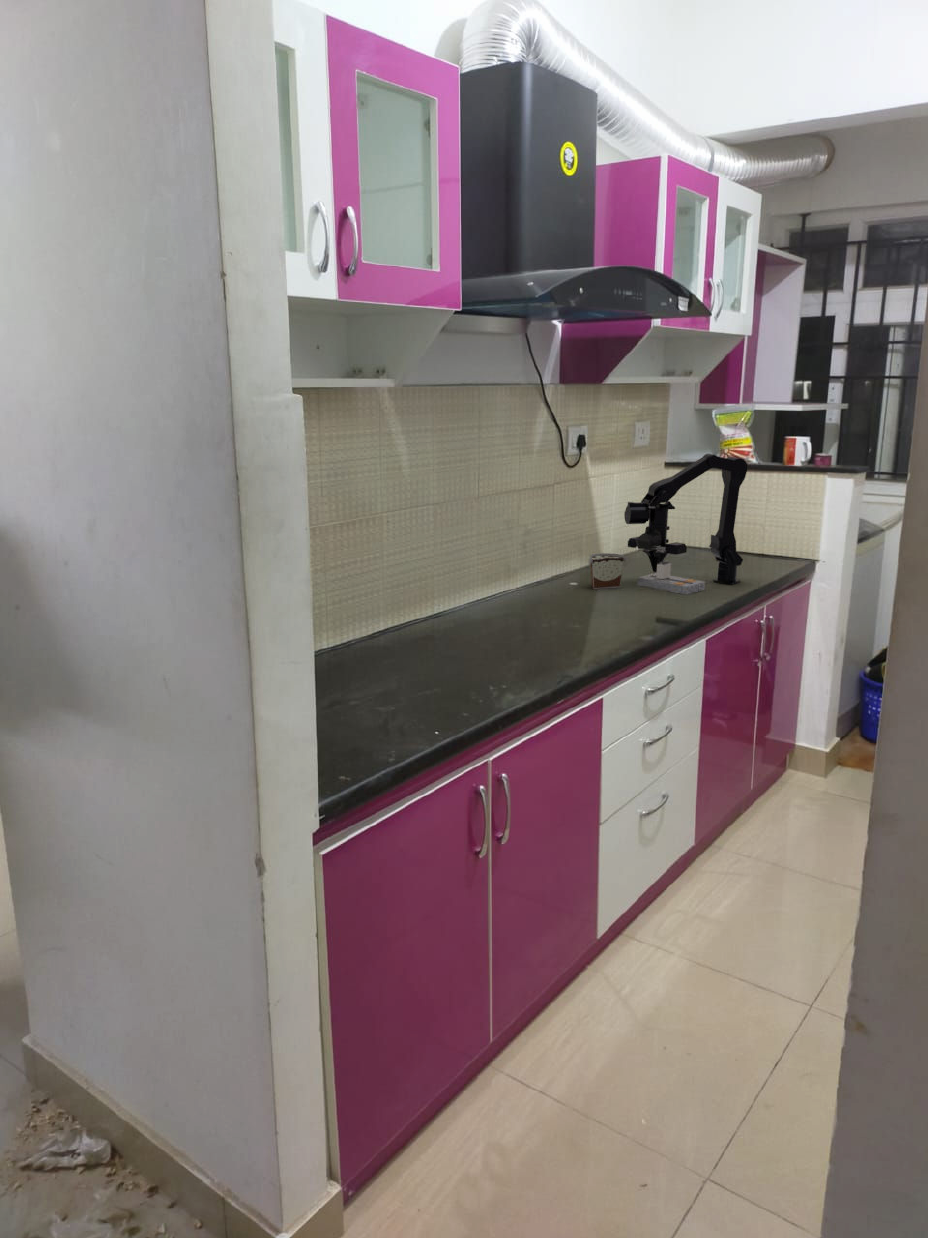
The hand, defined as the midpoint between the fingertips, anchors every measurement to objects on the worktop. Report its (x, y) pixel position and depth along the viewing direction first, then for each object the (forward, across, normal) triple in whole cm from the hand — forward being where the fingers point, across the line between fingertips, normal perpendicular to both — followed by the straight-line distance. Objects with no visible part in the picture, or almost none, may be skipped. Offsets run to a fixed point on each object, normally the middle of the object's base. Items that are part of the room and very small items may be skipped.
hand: (655, 572), depth 292 cm
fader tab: (+1, +3, 0) cm, 3 cm away
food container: (+4, -10, -14) cm, 18 cm away
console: (+4, +6, 0) cm, 7 cm away
